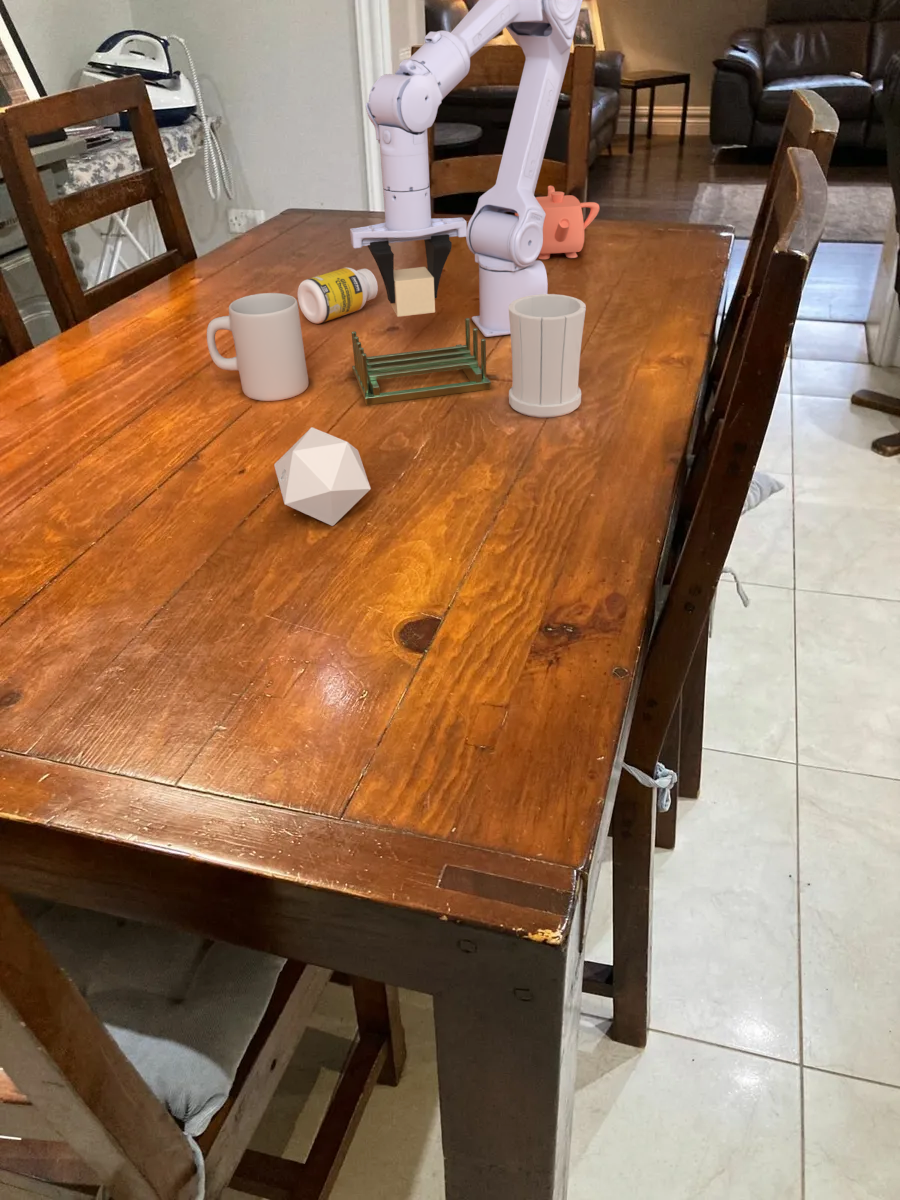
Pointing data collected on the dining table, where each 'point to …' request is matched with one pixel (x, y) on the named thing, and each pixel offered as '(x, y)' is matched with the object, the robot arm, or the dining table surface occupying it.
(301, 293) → the pill bottle
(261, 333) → the mug
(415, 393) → the dish rack
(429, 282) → the box
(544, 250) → the teapot
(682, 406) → the dining table surface
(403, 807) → the dining table surface
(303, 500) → the die
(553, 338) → the cup
